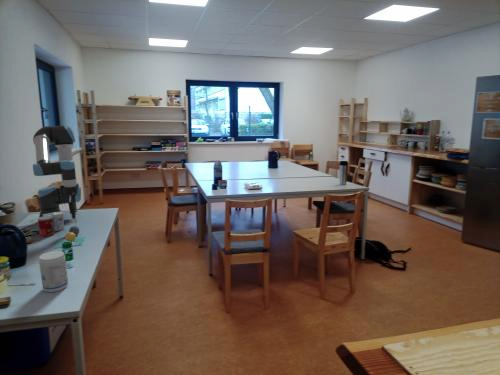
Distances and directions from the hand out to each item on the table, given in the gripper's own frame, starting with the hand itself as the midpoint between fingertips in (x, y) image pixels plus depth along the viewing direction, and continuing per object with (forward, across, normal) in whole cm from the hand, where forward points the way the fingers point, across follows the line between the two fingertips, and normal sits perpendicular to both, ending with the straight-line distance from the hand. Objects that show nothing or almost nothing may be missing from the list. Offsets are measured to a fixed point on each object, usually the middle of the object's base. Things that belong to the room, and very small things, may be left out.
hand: (74, 222), depth 222 cm
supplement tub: (+4, +78, +4) cm, 78 cm away
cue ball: (+3, +6, 0) cm, 7 cm away
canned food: (+6, 0, -16) cm, 17 cm away
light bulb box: (+7, -9, -14) cm, 18 cm away
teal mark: (+5, +20, 0) cm, 21 cm away
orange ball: (+3, +18, 0) cm, 18 cm away
